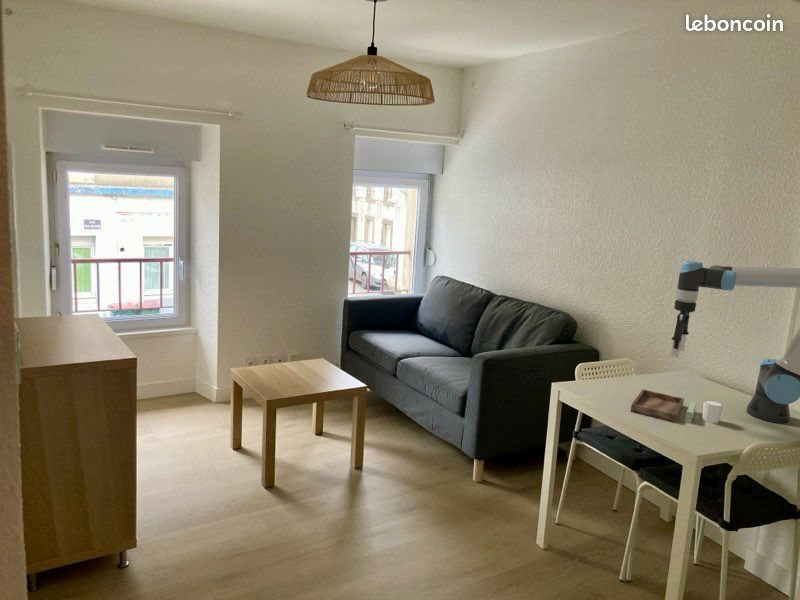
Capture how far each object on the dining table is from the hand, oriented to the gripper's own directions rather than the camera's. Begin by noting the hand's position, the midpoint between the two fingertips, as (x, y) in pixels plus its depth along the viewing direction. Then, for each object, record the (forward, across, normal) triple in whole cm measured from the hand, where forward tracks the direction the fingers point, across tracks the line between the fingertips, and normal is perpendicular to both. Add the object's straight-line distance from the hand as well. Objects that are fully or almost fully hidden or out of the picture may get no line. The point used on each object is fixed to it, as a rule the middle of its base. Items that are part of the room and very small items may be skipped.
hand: (677, 353), depth 254 cm
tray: (+22, +7, -3) cm, 23 cm away
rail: (+22, +7, +9) cm, 25 cm away
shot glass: (+22, +6, +16) cm, 28 cm away
